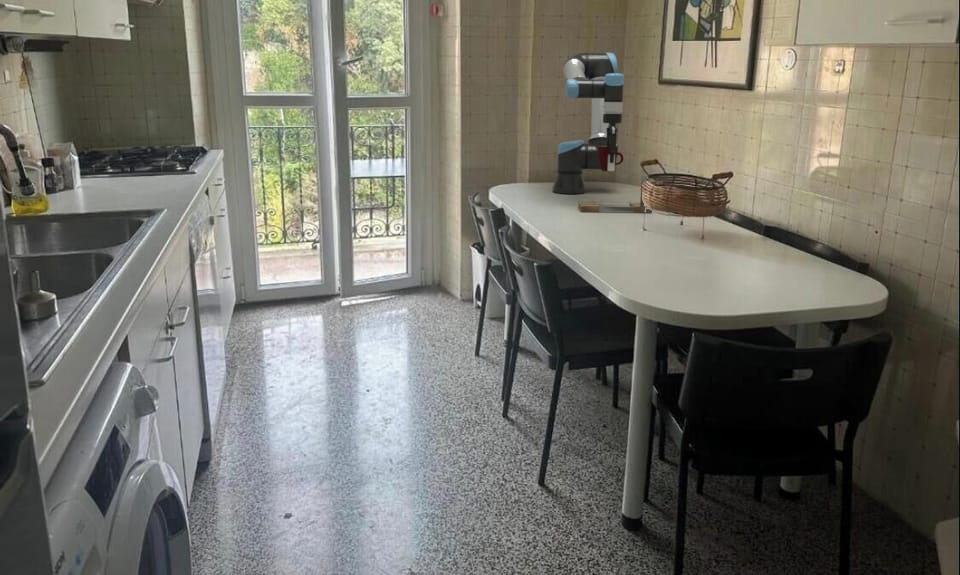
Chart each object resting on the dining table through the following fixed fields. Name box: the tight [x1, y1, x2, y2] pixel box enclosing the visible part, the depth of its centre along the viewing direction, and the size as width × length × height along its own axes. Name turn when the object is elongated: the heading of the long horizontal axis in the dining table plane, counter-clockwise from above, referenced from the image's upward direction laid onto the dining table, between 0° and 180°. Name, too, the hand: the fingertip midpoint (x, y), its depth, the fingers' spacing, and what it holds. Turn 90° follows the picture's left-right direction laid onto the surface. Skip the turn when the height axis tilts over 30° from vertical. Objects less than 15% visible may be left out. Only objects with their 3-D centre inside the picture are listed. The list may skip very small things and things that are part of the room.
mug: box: [598, 145, 624, 172], centre depth 296 cm, size 10×8×10 cm
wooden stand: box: [577, 175, 653, 214], centre depth 290 cm, size 13×28×14 cm, turn 88°
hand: (609, 170), depth 297 cm, fingers closed on mug, 8 cm apart
